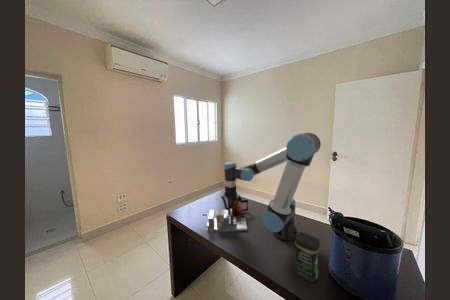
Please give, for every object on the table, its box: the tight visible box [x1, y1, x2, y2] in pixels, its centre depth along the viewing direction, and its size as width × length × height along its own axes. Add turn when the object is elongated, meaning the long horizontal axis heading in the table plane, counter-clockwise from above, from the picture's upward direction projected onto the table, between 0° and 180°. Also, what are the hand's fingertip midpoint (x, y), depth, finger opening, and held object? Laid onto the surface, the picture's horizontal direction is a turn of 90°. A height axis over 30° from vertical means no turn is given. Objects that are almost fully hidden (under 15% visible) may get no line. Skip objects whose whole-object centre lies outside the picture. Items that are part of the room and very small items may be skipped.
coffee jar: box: [293, 231, 321, 283], centre depth 77 cm, size 10×8×19 cm
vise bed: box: [206, 209, 248, 232], centre depth 117 cm, size 26×13×8 cm, turn 89°
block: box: [215, 209, 225, 227], centre depth 117 cm, size 5×7×8 cm
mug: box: [230, 196, 249, 218], centre depth 134 cm, size 10×14×12 cm
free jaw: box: [223, 209, 237, 228], centre depth 116 cm, size 8×12×8 cm
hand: (231, 218), depth 117 cm, fingers closed
